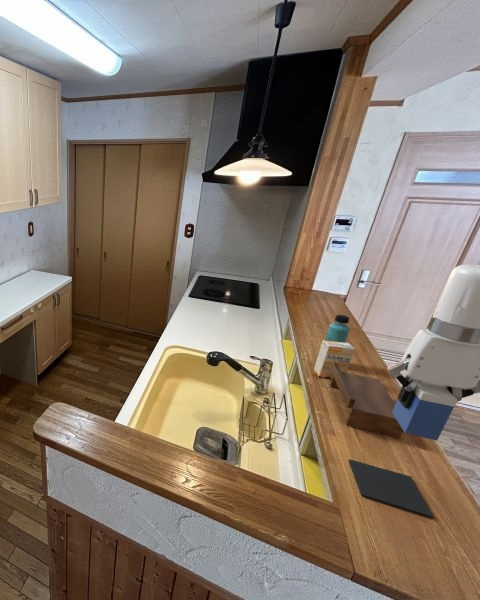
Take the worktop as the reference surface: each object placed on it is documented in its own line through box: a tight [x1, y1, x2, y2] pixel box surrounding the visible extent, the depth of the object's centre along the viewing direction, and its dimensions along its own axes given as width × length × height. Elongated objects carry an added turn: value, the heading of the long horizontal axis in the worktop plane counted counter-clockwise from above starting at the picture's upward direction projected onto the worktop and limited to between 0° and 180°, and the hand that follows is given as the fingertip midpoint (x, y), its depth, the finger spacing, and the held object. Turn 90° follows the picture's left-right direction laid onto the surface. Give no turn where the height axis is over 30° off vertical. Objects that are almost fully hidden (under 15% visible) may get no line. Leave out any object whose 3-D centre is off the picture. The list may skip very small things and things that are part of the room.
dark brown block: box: [329, 362, 404, 440], centre depth 100 cm, size 13×22×9 cm, turn 154°
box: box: [392, 381, 458, 442], centre depth 67 cm, size 5×7×10 cm
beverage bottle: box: [324, 314, 351, 343], centre depth 123 cm, size 6×7×20 cm
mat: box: [348, 458, 434, 520], centre depth 75 cm, size 12×11×1 cm
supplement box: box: [313, 339, 356, 379], centre depth 116 cm, size 8×5×13 cm, turn 76°
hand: (421, 407), depth 67 cm, fingers closed on box, 5 cm apart
